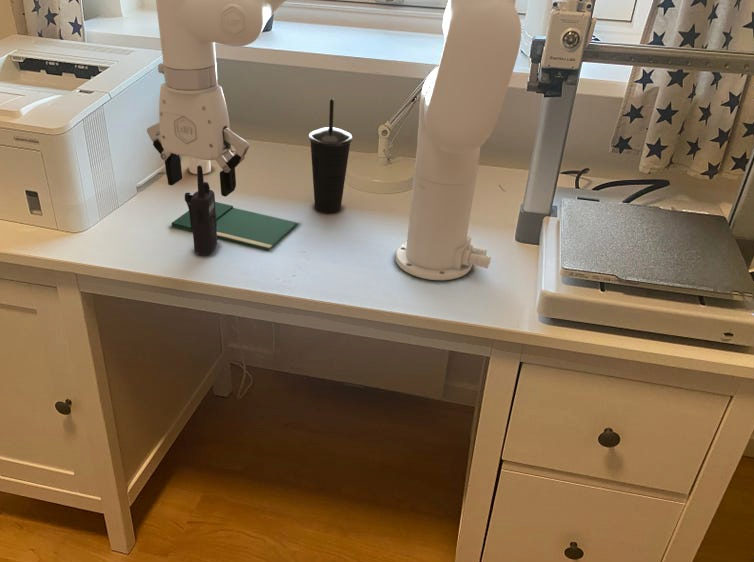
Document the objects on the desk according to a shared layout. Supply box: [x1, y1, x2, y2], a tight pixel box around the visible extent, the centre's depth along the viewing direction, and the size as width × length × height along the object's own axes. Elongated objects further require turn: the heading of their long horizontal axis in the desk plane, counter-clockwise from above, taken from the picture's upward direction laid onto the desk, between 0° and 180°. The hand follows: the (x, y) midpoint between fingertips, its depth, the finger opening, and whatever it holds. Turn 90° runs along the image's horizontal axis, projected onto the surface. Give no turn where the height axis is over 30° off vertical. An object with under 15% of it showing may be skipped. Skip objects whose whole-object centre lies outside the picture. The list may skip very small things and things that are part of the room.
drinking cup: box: [308, 98, 353, 214], centre depth 135 cm, size 8×8×20 cm
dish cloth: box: [171, 201, 298, 251], centre depth 133 cm, size 19×11×1 cm, turn 67°
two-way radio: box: [184, 166, 218, 256], centre depth 121 cm, size 6×4×15 cm
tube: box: [187, 156, 212, 175], centre depth 148 cm, size 4×4×15 cm
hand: (201, 187), depth 119 cm, fingers open, 9 cm apart
